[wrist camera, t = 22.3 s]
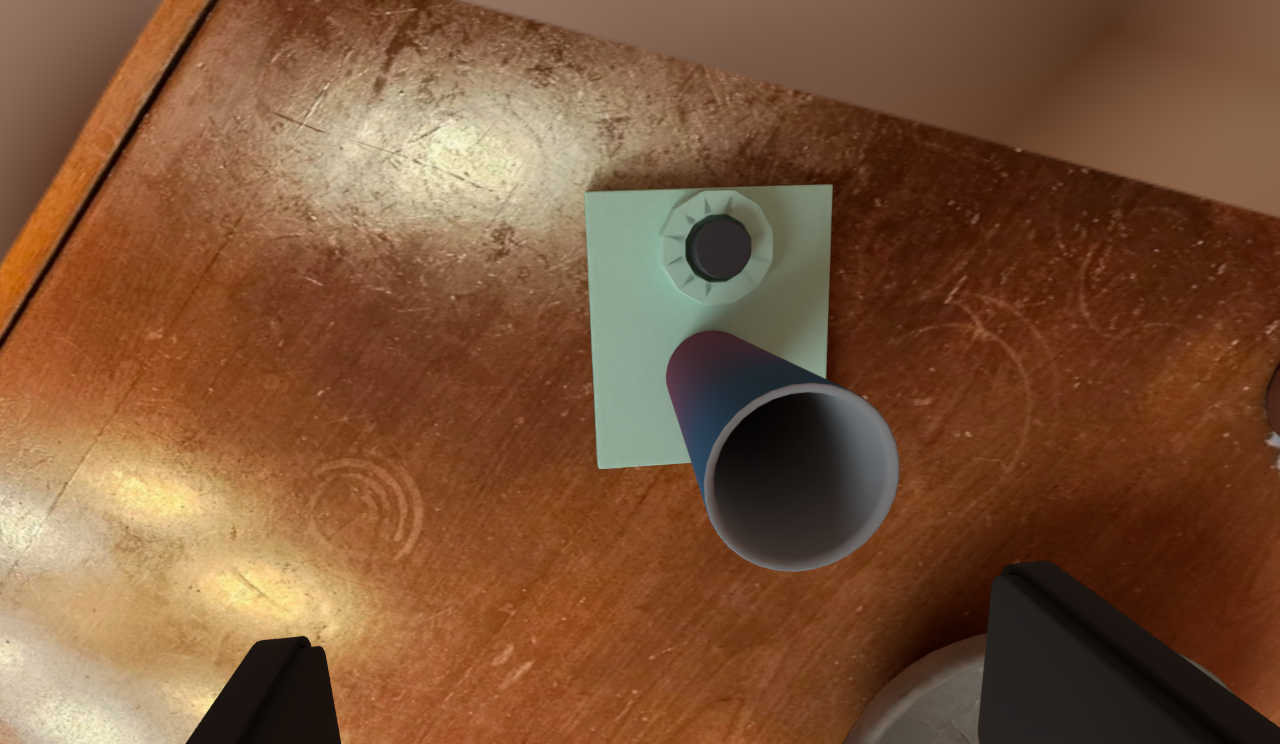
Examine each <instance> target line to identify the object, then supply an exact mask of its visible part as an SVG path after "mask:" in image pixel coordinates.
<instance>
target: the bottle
mask: <svg viewBox="0 0 1280 744" xmlns="http://www.w3.org/2000/svg"><path fill="white" fill-rule="evenodd" d="M1266 411H1267V414H1268V418H1269V422H1270V424H1271V425H1272V427H1273V429H1274V430H1275V432H1276V433H1277V434H1278V435H1279V436H1280V366H1279V368H1278V369H1277V370H1276V371H1275V373H1274V375H1273V377H1272V380H1271V382H1270V384H1269V386H1268V389H1267V397H1266Z"/></svg>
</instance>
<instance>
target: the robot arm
mask: <svg viewBox="0 0 1280 744" xmlns="http://www.w3.org/2000/svg"><path fill="white" fill-rule="evenodd" d="M978 739H979V744H1280V728H1279V727H1278V726H1277V725H1275V724H1274V723H1273V722H1271V721H1270V720H1268V719H1267V718H1266V717H1264V716H1263V715H1262V714H1260V713H1259V712H1257V711H1256V710H1255V709H1253V708H1252V707H1251V706H1249V705H1248V704H1246V703H1245V702H1244V701H1242V700H1241V699H1240V698H1238V697H1237V696H1235V695H1234V694H1233V693H1231V692H1230V691H1229V690H1227V689H1226V688H1225V687H1223V686H1222V685H1220V684H1219V683H1218V682H1216V681H1215V680H1214V679H1212V678H1211V677H1209V676H1208V675H1207V674H1205V673H1204V672H1203V671H1201V670H1200V669H1198V668H1197V667H1196V666H1194V665H1193V664H1192V663H1190V662H1189V661H1187V660H1186V659H1185V658H1183V657H1182V656H1181V655H1179V654H1178V653H1176V652H1175V651H1174V650H1172V649H1171V648H1170V647H1168V646H1167V645H1165V644H1164V643H1163V642H1161V641H1160V640H1159V639H1157V638H1156V637H1154V636H1153V635H1152V634H1150V633H1149V632H1148V631H1146V630H1145V629H1143V628H1142V627H1141V626H1139V625H1138V624H1137V623H1135V622H1134V621H1132V620H1131V619H1130V618H1128V617H1127V616H1126V615H1124V614H1123V613H1121V612H1120V611H1119V610H1117V609H1116V608H1115V607H1113V606H1112V605H1110V604H1109V603H1108V602H1106V601H1105V600H1104V599H1102V598H1101V597H1099V596H1098V595H1097V594H1095V593H1094V592H1093V591H1091V590H1090V589H1088V588H1087V587H1086V586H1084V585H1083V584H1082V583H1080V582H1079V581H1078V580H1076V579H1075V578H1073V577H1072V576H1071V575H1069V574H1068V573H1067V572H1065V571H1064V570H1062V569H1061V568H1060V567H1058V566H1057V565H1055V564H1053V563H1052V562H1050V561H1037V562H1028V563H1018V564H1009V565H1007V566H1005V567H1004V569H1003V570H1002V572H1001V575H1000V576H998V577H996V578H995V579H994V580H993V583H992V588H991V598H990V608H989V618H988V629H987V639H986V649H985V659H984V669H983V679H982V690H981V700H980V710H979V720H978ZM186 744H341V740H340V734H339V728H338V723H337V717H336V711H335V705H334V700H333V694H332V688H331V683H330V677H329V671H328V665H327V660H326V655H325V651H324V649H323V648H322V647H321V646H315V647H311V643H310V641H309V640H308V638H307V637H305V636H299V637H290V638H280V639H270V640H261V641H258V642H256V643H255V644H254V645H253V646H252V647H251V649H250V650H249V652H248V653H247V655H246V656H245V658H244V659H243V661H242V662H241V664H240V665H239V666H238V668H237V669H236V671H235V672H234V674H233V675H232V677H231V678H230V680H229V681H228V682H227V684H226V685H225V687H224V688H223V690H222V691H221V693H220V694H219V696H218V697H217V699H216V700H215V701H214V703H213V704H212V706H211V707H210V709H209V710H208V712H207V713H206V715H205V716H204V717H203V719H202V720H201V722H200V723H199V725H198V726H197V728H196V729H195V731H194V732H193V734H192V735H191V736H190V738H189V739H188V741H187V742H186Z"/></svg>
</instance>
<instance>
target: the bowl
mask: <svg viewBox="0 0 1280 744" xmlns="http://www.w3.org/2000/svg"><path fill="white" fill-rule="evenodd" d="M986 639H987V633H984V634H980V635H977V636H973V637H969V638H967V639H964V640H961V641H958V642H955V643H952V644H950V645H948V646H946V647H943V648H941V649H938V650H935V651H933V652H931V653H929V654H927V655H926V656H924V657H923V658H921V659H919V660H918V661H916V662H914V663H912V664H911V665H910V666H908V667H907V668H905V669H904V670H903V671H902V672H901V673H899V674H898V675H897V676H896V677H894V678H893V679H892V680H891V681H889V682H888V683H887V684H886V685H885V686H884V687H883V688H882V689H880V690H879V692H878V693H877V694H876V695H875V696H874V697H873V699H872V700H871V702H870V703H869V704H868V706H867V707H866V708H865V710H864V711H863V713H862V714H861V716H860V718H859V719H858V720H857V721H856V723H855V724H854V726H853V727H852V729H851V730H850V732H849V733H848V735H847V736H846V738H845V740H844V742H843V743H842V744H979V739H978V720H979V710H980V700H981V690H982V679H983V669H984V659H985V649H986ZM1175 652H1176V651H1175ZM1176 653H1178V652H1176ZM1178 654H1179V655H1181V656H1182V657H1183V658H1185V659H1186V660H1187V661H1189V662H1190V663H1192V664H1193V665H1194V666H1196V667H1197V668H1198V669H1200V670H1201V671H1203V672H1204V673H1205V674H1207V675H1208V676H1209V677H1211V678H1212V679H1214V680H1215V681H1216V682H1218V683H1219V684H1220V685H1222V686H1223V687H1225V688H1226V689H1227V690H1229V691H1230V692H1231V693H1233V692H1232V691H1231V690H1230V689H1229V688H1228V687H1227V686H1226V685H1225V684H1224V683H1223V682H1222V681H1221V680H1220V679H1219V678H1218V677H1217V676H1215V675H1214V674H1213V673H1211V672H1210V671H1209V670H1207V669H1206V668H1204V667H1203V666H1201V665H1200V664H1198V663H1196V662H1195V661H1193V660H1191V659H1190V658H1188V657H1186V656H1184V655H1182V654H1180V653H1178ZM1233 694H1234V693H1233Z"/></svg>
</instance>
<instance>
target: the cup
mask: <svg viewBox="0 0 1280 744" xmlns="http://www.w3.org/2000/svg"><path fill="white" fill-rule="evenodd" d="M666 385H667V388H668V392H669V395H670V398H671V401H672V404H673V407H674V410H675V413H676V417H677V420H678V423H679V426H680V429H681V432H682V435H683V438H684V441H685V444H686V447H687V451H688V454H689V457H690V460H691V463H692V466H693V469H694V472H695V475H696V478H697V481H698V484H699V488H700V491H701V494H702V497H703V500H704V503H705V506H706V509H707V512H708V515H709V518H710V520H711V522H712V524H713V526H714V528H715V530H716V532H717V533H718V535H719V536H720V537H721V538H722V540H723V541H724V542H725V543H726V544H727V545H728V547H729V548H731V549H732V550H733V551H734V552H736V553H737V554H738V555H740V556H741V557H742V558H744V559H746V560H748V561H750V562H752V563H754V564H756V565H758V566H761V567H765V568H769V569H773V570H777V571H795V572H796V571H804V570H812V569H816V568H820V567H823V566H826V565H829V564H832V563H834V562H836V561H838V560H840V559H842V558H844V557H846V556H848V555H850V554H851V553H852V552H854V551H855V550H856V549H858V548H859V547H860V546H861V545H863V544H864V543H865V542H866V541H867V540H868V539H869V538H870V537H871V536H872V535H873V534H874V533H875V531H876V530H877V529H878V528H879V526H880V525H881V523H882V522H883V520H884V519H885V517H886V516H887V514H888V512H889V510H890V507H891V505H892V503H893V500H894V498H895V495H896V490H897V485H898V481H899V456H898V450H897V445H896V441H895V439H894V436H893V434H892V432H891V429H890V427H889V425H888V424H887V422H886V421H885V419H884V418H883V417H882V415H881V414H880V413H879V411H878V410H877V409H876V408H875V407H873V406H872V405H871V404H870V403H869V402H868V401H867V400H866V399H864V398H863V397H861V396H859V395H857V394H855V393H854V392H852V391H850V390H848V389H846V388H844V387H842V386H840V385H838V384H836V383H833V382H831V381H829V380H827V379H825V378H823V377H821V376H819V375H816V374H814V373H812V372H810V371H808V370H806V369H804V368H802V367H800V366H797V365H795V364H793V363H791V362H789V361H787V360H785V359H783V358H780V357H778V356H776V355H774V354H772V353H770V352H768V351H766V350H764V349H761V348H759V347H757V346H755V345H753V344H751V343H749V342H747V341H744V340H742V339H740V338H738V337H736V336H734V335H732V334H729V333H726V332H723V331H714V330H712V331H703V332H700V333H697V334H694V335H692V336H690V337H689V338H687V339H686V340H684V341H683V342H682V343H681V344H680V345H679V346H678V347H677V348H676V349H675V350H674V352H673V354H672V356H671V357H670V360H669V363H668V365H667V371H666Z"/></svg>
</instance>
